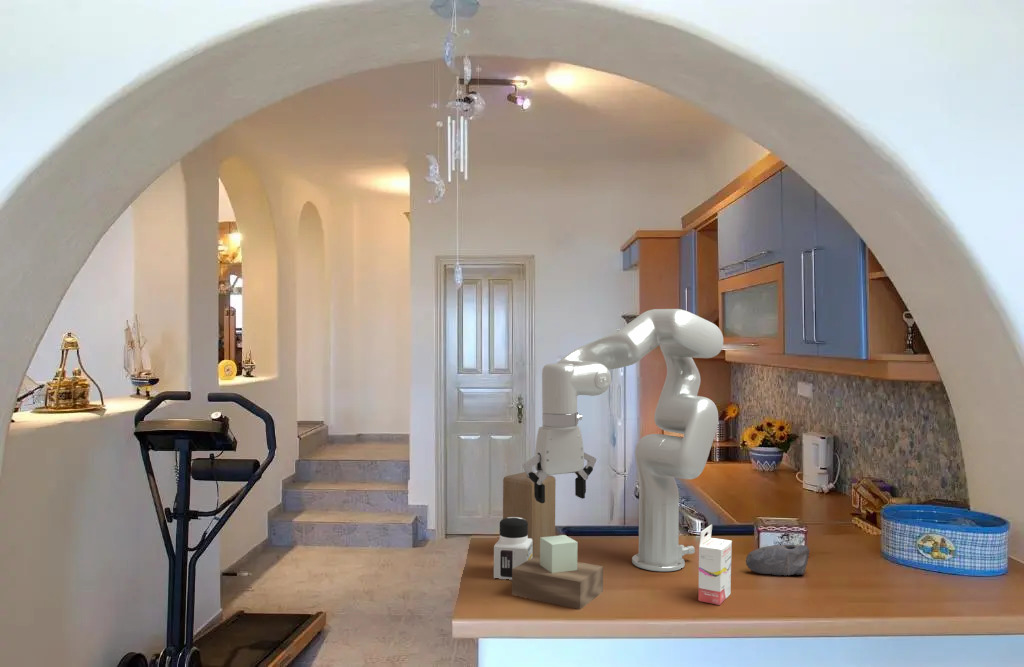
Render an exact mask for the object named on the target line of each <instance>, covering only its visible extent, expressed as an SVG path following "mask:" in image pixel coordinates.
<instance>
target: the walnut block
mask: <svg viewBox="0 0 1024 667" xmlns="http://www.w3.org/2000/svg"><path fill="white" fill-rule="evenodd" d="M602 593H604V566H603V565H599V564H593V563H592V564H591V563H588V562H580V561H577V570H573V571H565V572H557V573H551V572H550V571H548V570H547V569H545V568H544V567H542V566H541V565H540V555H537V556H535V557H533V558H531V559H530V560H528V561H526V562H524V563H522V564H521V565H519V566H517V567H515V568H513V569H512V580H511V596H512V595H516V596H515V597H517V596H520V597H519V598H522V597H526V598H525V599H527V598H530V599H529V600H532V599H534V600H533V601H537V600H538V601H537V602H542V601H543V602H542V603H546V602H547V603H548V604H551V603H552V605H556V606H557V605H558V606H561V607H567V608H571V609H577V610H581V609H583V608H584V607H585V606H587V605H588V604H589V603H591V602H592V601H593V600H595V598H597V597H598V596H599V595H601V594H602Z"/></svg>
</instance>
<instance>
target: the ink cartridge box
mask: <svg viewBox="0 0 1024 667" xmlns="http://www.w3.org/2000/svg"><path fill="white" fill-rule="evenodd" d="M712 530H713V524H710V525H708V526H707V527H706V528H704V529H703V530H701V531H700V537H699V544H698V593H697V594H698V595H697V596H698V601H699V602H702V603H708V604H713V605H718V606H721V605H722V603H723V602H724V601H725V600H726V599H727V598H728V597H729V596H730V595H731V592H732V591H731V590H732V589H731V587H732V586H731V585H732V584H731V582H732V581H731V580H732V578H731V577H732V549H733V548H732V544H733V540H729V539H722V538H715V537H712ZM706 534H707V535H706Z"/></svg>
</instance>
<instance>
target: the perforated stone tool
mask: <svg viewBox="0 0 1024 667" xmlns="http://www.w3.org/2000/svg"><path fill="white" fill-rule="evenodd" d="M809 555H810V547H808V545H806V544H805V545H803V544H798V545H797V544H777V545H769V546H763V547H759V548H755V549H754V550H752V551H750V552H749V553H748V554H747V555H746V558H745V563H746V564H745V565H746V566H747V568H748V569H749V570H750V571H752V572H754V573H757V574H762V575H771V574H772V576H781V575H784V577H788V576H791V575H796V576H800V575H801V576H802V575H804V574H805V572H806V570H807V565H808V561H809V558H810V556H809ZM787 575H788V576H787Z"/></svg>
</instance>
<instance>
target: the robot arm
mask: <svg viewBox="0 0 1024 667" xmlns="http://www.w3.org/2000/svg"><path fill="white" fill-rule="evenodd" d="M723 346H724V335H723V332H722V331H721V329H720V328H719V327H718V326H717V325H716V324H715V323H714V322H711V321H709V320H707V319H705V318H703V317H700V316H699V315H697V314H694V313H692V312H690V311H687V310H685V309H681V308H655V309H654V308H653V309H649V310H647V311H644V312H642V313H641V314H639V315H638V316H637V317H635V318H634V319H632V320H631V321H630V322H628V323H627V324H625V325H624V326H623V327H622V328H620V329H618V330H617V331H615V332H614V333H612V334H610V335H607V336H605V337H602V338H598V339H597V340H593V341H592V342H589V343H586V344H583V345H581V346H579V347H578V348H576V349H574V350H572V351H570V352H569V353H568V354H567V355H565V356H564V357H563V358H561V359H559V361H557V362H556V363H548V364H546V365H544V366H543V367H542V370H541V388H542V389H541V393H542V394H541V395H542V396H541V397H542V398H541V400H542V401H541V402H542V403H541V405H542V406H541V408H542V409H541V410H542V412H541V413H542V422H541V423H542V426H538V429H537V435H536V440H535V452H534V456H533V457H532V458H530V459H528V460H527V461H526V462H524V463H523V464H522V468H523V471H524V472H526V474H527V476H528V477H529V478H530V479H531V480H532V482H534V496H535V498H536V501H538V502H540V503H544V502H545V485H544V484H543V481H544V480H545V478H546V477H547V476H548V475H551V476H554V475H565V474H566V475H567V474H573V473H574V474H575V475H576V477H575V480H574V484H575V485H574V488H575V490H574V494H575V495H574V496H576V497H577V498H579V499H581V500H582V499H585V498H586V493H587V480H588V479H589V476H590V475H591V473H592V472H593V471H594V467H595V465H596V462H597V458H596V457H595V456H592V455H590V454H588V453H586V452H584V442H583V437H582V431H581V427H580V426H579V421H581V420H582V421H583V415H582V414H581V413H579V412H578V396H588V397H589V396H591V397H595V396H599V395H602V394H603V393H605V392H606V391H608V389H609V387H610V386H611V383H612V373H611V371H610V370H615V369H621V368H624V367H625V368H626V367H629V366H633V365H634V364H636V363H638V362H639V361H640V360H642V359H643V358H644V357H645V356H647V355H648V354H649V353H650V352H652V351H653V350H654V349H656V348H657V347H659V348H660V351H661V353H662V356H663V358H664V361H665V364H666V377H665V380H664V384H663V387H662V389H661V392H660V396H659V398H658V401H657V404H656V408H655V412H654V418H653V419H654V423H655V425H656V426H657V427H658V428H659V429H661V430H662V431H665V432H669V433H674V434H680V435H681V434H682V435H683V436H682V437H680V436H674V435H669V434H661V433H650V434H647V435H644V436H643V437H641V438H640V439H639V440H638V442H637V444H636V445H635V450H634V454H635V463H636V468H637V474H638V475H637V477H638V489H639V490H638V491H639V492H638V493H639V494H638V498H639V499H638V553H636V554H634V555H633V556H632V557H631V562H632V564H633V565H634V566H635V567H637V568H639V569H642V570H645V571H646V570H647V571H653V572H674V571H679V570H682V569H683V568H684V567H685V565H686V564H685V562H686V561H685V559H684V558H683V557H684V556H685V555H693V554H694V553H695V552H696V549H695V547H694V546H693V545H687V546H685V545H684V544H679V529H680V528H679V522H680V519H679V514H680V512H679V510H680V504H679V502H680V493H679V492H680V491H679V487H678V483H677V482H676V479H675V478H678V479H681V480H682V479H683V480H694V479H697V478H698V477H699V476H700V475H701V474H702V472H703V471H704V469H705V467H706V465H707V461H708V459H709V456H710V453H711V452H710V451H711V448H712V446H713V442H714V439H715V435H716V433H717V429H718V425H719V412H718V408H717V405H716V403H714V401H713V400H711V399H710V398H708V397H705V396H701V395H698V394H699V389H700V386H701V374H700V371H699V368H698V367H697V365H696V362H695V361H694V359H697V358H698V359H710V358H711V359H712V358H714V357H716V356H718V355H719V354H720V353H721V351H722V349H723V348H724V347H723ZM693 358H694V359H693ZM585 461H586V465H585ZM533 467H534V468H535V471H536V472H534V470H533ZM535 473H536V474H535ZM681 568H682V569H681Z"/></svg>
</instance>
